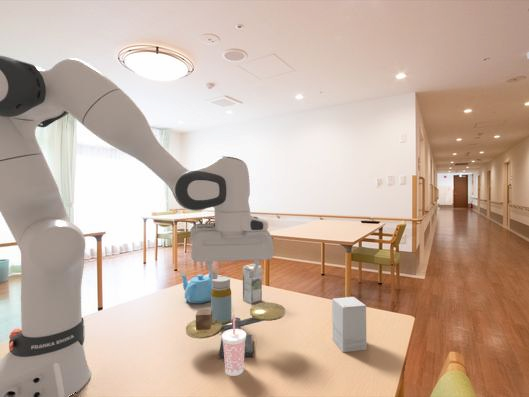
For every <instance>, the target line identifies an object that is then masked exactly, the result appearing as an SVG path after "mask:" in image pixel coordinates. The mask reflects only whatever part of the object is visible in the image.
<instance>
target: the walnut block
mask: <svg viewBox="0 0 529 397" xmlns="http://www.w3.org/2000/svg"><path fill="white" fill-rule="evenodd" d="M195 320H196V330H198V329H211V325H212V309H211V308H198V309H197V311H196V313H195Z"/></svg>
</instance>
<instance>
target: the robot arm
mask: <svg viewBox="0 0 529 397" xmlns="http://www.w3.org/2000/svg"><path fill="white" fill-rule="evenodd" d="M68 114H69V115H71V116H72V117H73V118H74V119H76V120H77V121H78V122H79V123H80V124H81V125H82V126H84V128H86V129H87V130H88V131H89V132H90V133H92V134H93V135H95V136H96V137H97V138H99V139H101V140H102V141H103V142H104V143H106V144H108V145H110V146H111V147H114V148H115V149H117V150H118V151H119V150H120V151H121V152H122V153H125V154H127V155H129V156H131V157H132V158H134V159H136V160H137V161H139V162H140V163H141V164H143V165H145V166H146V167H147V168H148V169H150V170H151V172H152V173H154V174H155V175H156V176H157V177H158V178H159V179H161V181H163V182H164V183H165V184H166V185H167V186H168V188H169V189H170V190H171V192H172V195H173V197H174V199H175V201H176V202H177V204H179V206H180V207H182V208H184V210H185V209H186V210H188V211H193V212H198V211H204V210H205V209H209V208H210V209H211V208H214V222H208V223H206V222H205V223H196V224H195V225H193V226H192V227H191V228H190V232H189V233H190V235H189V236H190V239H191V241H192V244H191V254H190V255H191V256H190V258H191V260H192V261H193V262H195V263H200V262H203V263H205V266H206V267H207V269H208V271H209V273H210V272H211V279H217V278H218V273H219V272H218V270H217V269H214V267H213V263H214V262H233V261H253V264H255V265H254V267H253V269H249V277H250V278H255V271H256V270H257V268H258V266H260V263H261V262H260V261H262V260H264V261H265V260H267V261H268V260H272V258H273V257H274V256H275V255H274V254H275V253H274V251H275V250H274V243H273V238H272V235H271V233H270V232H269V231H268V229H269V223H268V221H267V220H266V219H263V218H260V217H257V216H256V215H255V216H254V215H253V216H252V215H251V207H250V204H249V201H250V200H249V198H250V196H251V195H250V194H251V188H250V187H251V185H250V184H251V183H250V174H249V169H248V166H247V163H246V162H245V161H244V160H242V159H240V158H237V157H232V156H224V155H223V156H219V157H217V158H216V159H214V160H212V161H211V162H209V163H207V164H205V165H203V166H201V167H198V168H195V169H191V170H190V169H187V167H184V166H183V165H182V164H181V162H179V161H178V160H177V159H176V158H175V157H174V156H173V155H172V154H171V153H169V151H167V150H166V149H165V147H163V146H162V144H160V142H159V141H158V139H157V138H156V135H155V134H154V132H153V130H152V129H151V126H150V123H149V122H148V120H147V117H146V116H145V114H144V113H143V112H142V111H141V108H139V107H138V106H137V104H136V103H135V102H134V101H133V100H132V99H131V97H130V96H129V95H128V94H127V93H125V91H124V90H123V89H121V88H120V87H119V86H118V85H117V84H115V83H114V82H113V81H112V80H111V79H110V78H108V77H107V76H105V75H104V74H103V73H102V72H100V71H99V70H97V69H96V68H94V67H93V66H92V65H90V64H89V63H87V62H85V61H83V60H81V59H78V58H67V59H63V60H61V61H59V62H57V63H56V64H55V65H54V66H52V68H50V69H48V70H45V69H42V68H41V67H38V66H36V65H34V64H33V63H29V62H26V61H22V60H18V59H15V58H13V57H10V56H9V57H8V56H5V55H0V213H1V214H0V215H1V216H2V218H3V219H4V221H5V223H6V225H7V228H8V230H9V231H10V232H11V235H12V237H13V238H14V240H15V242H16V244H17V246H18V249H19V250H20V251H19V252H20V263H21V264H20V265H21V266H20V274H21V276H20V284H21V285H20V312H21V313H20V314H21V315H20V318H21V319H20V320H21V321H20V322H21V325H20V326H21V328H15V329H13V330H12V331H11V332H10V334H9V342H8V350H9V352H7V353H6V354H5V355H3V357H1V358H0V397H68V396H69V395H71V394H73V393H75V392H76V393H77V392H79V391H80V390H81V389H83V387H85V386H86V384H87V383H88V382H89V380H90V378H91V375H92V373H91V372H92V371H91V370H90V368H89V365H88V362H87V359H86V358H87V357H86V353H85V348H84V343H85V336H86V331H85V330H86V329H85V320H84V318H83V317H82V315H83V314H82V284H83V283H82V282H83V280H82V279H83V274H84V266H85V265H84V264H85V255H86V254H85V251H86V237H85V235H84V233H83V231H82V230H81V229H80V228H79V227H78V226H77V225H75V224H74V223H73V222H71V221H70V219H69V215H68V213H67V210H66V208H65V206H64V202H63V199H62V196H61V194H60V190H59V186H58V184H57V182H56V180H55V178H54V176H53V172H52V170H51V169H50V166H49V164H48V161H47V160H46V157H45V155H44V153H43V151H42V149H41V147H40V145H39V143H38V142H39V141H38V139H37V137H36V129H37V127H39V128H46V127H48V126H50V125H51V124H53V123H54V122H56V121H59V120H61V119H62V118H64V117H66V116H67V115H68ZM76 393H75V394H76ZM73 395H74V394H73Z"/></svg>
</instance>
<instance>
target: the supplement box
mask: <svg viewBox="0 0 529 397" xmlns="http://www.w3.org/2000/svg"><path fill="white" fill-rule="evenodd" d="M331 316H332V340H333V342H334V343H335V344H336V346H338V348H339V349H340V350H341V351H342V352H343V353H345V352H346V353H348V352H355V351H356V352H358V351H366V350H367V305H366V304H364V303H363V302H362V301H360V300H359V299H357V298H356V296H346V297H337V298H334V297H333V298H332V315H331Z"/></svg>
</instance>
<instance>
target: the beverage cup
mask: <svg viewBox="0 0 529 397" xmlns="http://www.w3.org/2000/svg"><path fill="white" fill-rule="evenodd" d="M235 318H236V315H235V314H232V319H233V329H230V330H226V331H223V333H222V334H221V338H222V340H223V347H224V359H223V360H224V371H225V374H227V375H228V376H232V377H233V376H240V375H241V374H242V373H243V372H244V368H245V358H244V352H245V339H246V335H247V333H246V331H244V330H243V329H235Z"/></svg>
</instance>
